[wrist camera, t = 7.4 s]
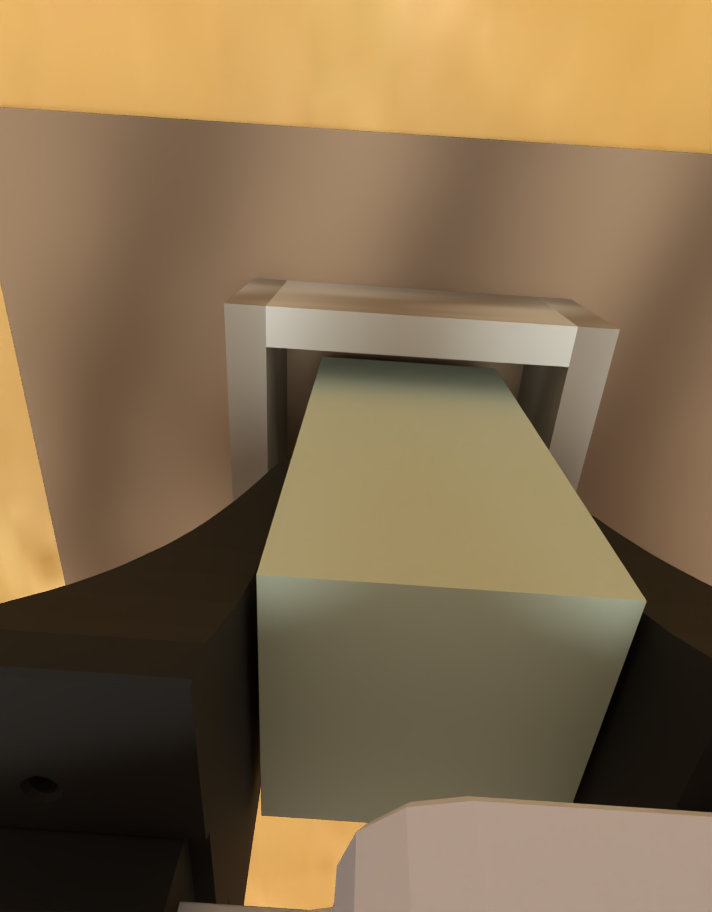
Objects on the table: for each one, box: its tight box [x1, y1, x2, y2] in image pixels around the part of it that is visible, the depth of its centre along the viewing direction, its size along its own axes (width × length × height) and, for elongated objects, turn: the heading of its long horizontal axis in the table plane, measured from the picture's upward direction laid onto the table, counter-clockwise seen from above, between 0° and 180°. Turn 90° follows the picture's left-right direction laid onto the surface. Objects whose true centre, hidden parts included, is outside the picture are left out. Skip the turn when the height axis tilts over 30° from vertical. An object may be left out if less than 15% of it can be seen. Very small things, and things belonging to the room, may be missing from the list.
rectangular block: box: [256, 357, 647, 823], centre depth 10 cm, size 4×4×8 cm
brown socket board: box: [0, 107, 712, 586], centre depth 14 cm, size 20×14×4 cm
